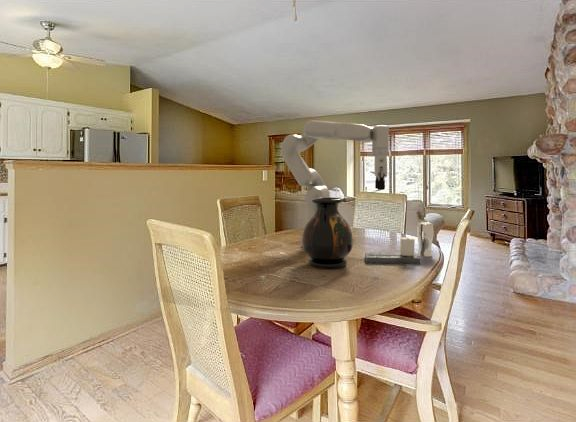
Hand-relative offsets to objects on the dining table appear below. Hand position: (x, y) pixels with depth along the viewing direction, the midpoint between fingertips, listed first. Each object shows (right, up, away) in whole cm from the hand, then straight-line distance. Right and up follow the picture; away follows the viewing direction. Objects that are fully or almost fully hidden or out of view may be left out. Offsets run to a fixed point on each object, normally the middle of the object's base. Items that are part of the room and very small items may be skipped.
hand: (379, 189), depth 167 cm
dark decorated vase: (-27, -33, -17) cm, 46 cm away
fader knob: (+8, -29, -15) cm, 34 cm away
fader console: (+1, -32, -14) cm, 35 cm away
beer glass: (+19, -31, -5) cm, 37 cm away
